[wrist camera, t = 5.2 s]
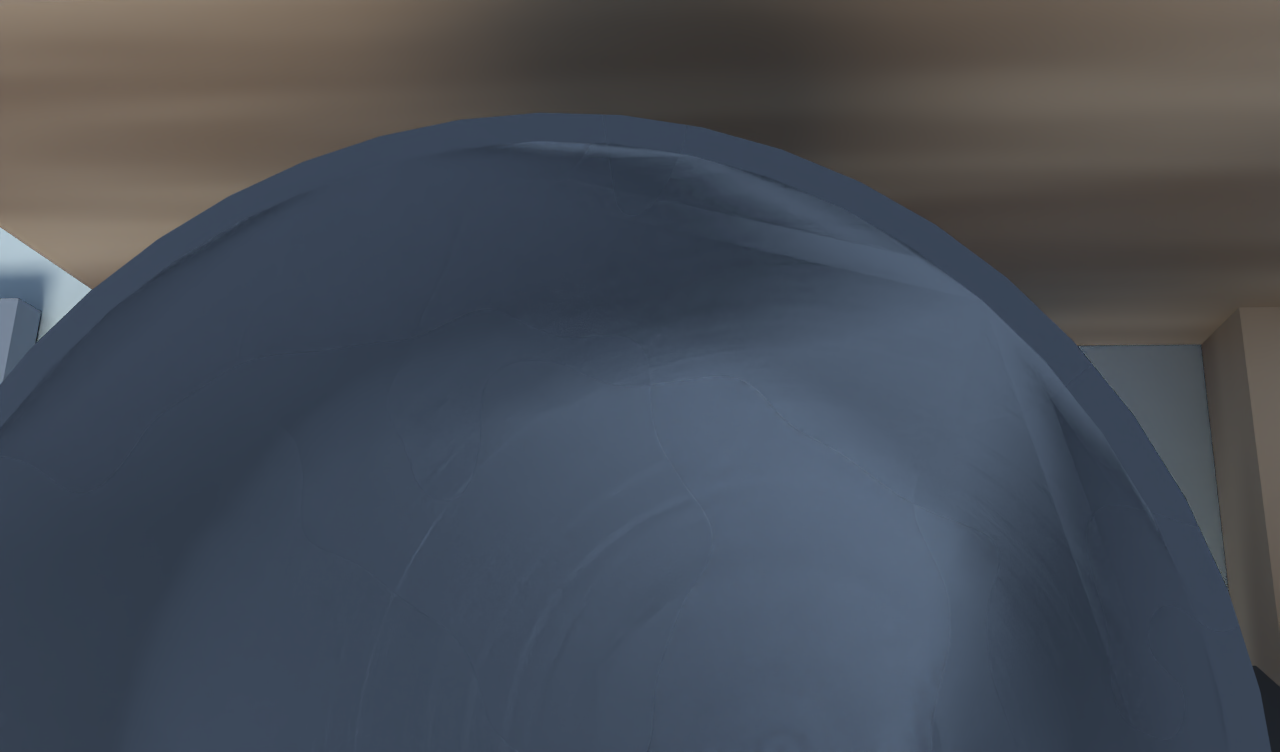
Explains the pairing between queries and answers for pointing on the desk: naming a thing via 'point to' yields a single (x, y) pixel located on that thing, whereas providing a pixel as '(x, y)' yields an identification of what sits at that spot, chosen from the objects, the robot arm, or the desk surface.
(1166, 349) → the desk surface
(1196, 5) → the frame
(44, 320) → the desk surface
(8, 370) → the felt pad
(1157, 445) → the desk surface
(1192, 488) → the desk surface
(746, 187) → the canister
